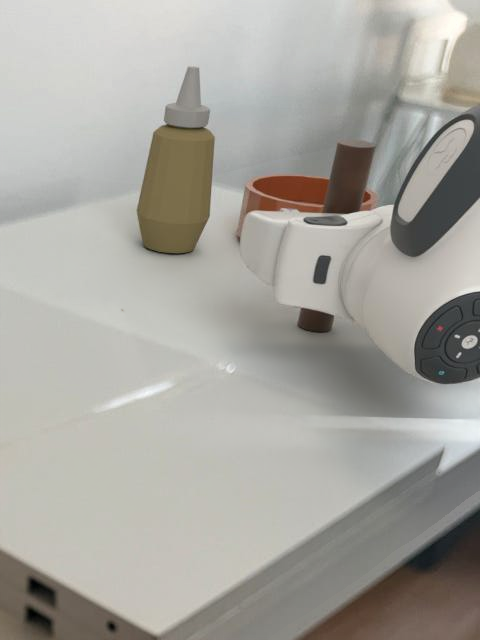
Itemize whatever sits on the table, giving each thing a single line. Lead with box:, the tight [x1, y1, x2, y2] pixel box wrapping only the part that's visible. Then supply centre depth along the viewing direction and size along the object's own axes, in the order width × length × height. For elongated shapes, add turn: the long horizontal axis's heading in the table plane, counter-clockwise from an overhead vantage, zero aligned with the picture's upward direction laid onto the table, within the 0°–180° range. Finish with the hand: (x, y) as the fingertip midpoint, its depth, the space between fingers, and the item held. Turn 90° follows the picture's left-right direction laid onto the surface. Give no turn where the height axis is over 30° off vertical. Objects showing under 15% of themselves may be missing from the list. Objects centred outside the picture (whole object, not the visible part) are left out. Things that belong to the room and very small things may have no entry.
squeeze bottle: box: [136, 66, 216, 254], centre depth 111 cm, size 8×8×18 cm
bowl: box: [236, 173, 379, 238], centre depth 118 cm, size 15×15×6 cm
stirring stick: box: [297, 139, 377, 333], centre depth 93 cm, size 3×3×16 cm
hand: (337, 219), depth 93 cm, fingers open, 8 cm apart
